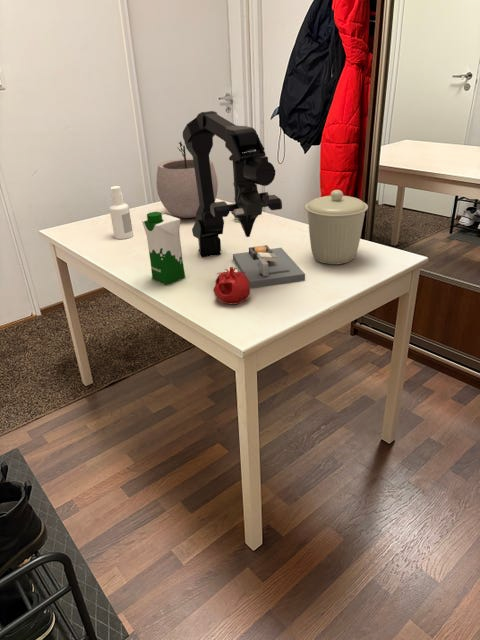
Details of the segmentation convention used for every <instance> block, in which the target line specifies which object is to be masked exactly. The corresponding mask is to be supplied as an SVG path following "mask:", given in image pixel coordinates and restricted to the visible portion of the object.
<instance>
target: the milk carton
mask: <svg viewBox="0 0 480 640" xmlns="http://www.w3.org/2000/svg"><path fill="white" fill-rule="evenodd" d="M141 223H142V226H143V229H144V233H145V235H146V240H147V247H148V253H149V261H150V268H151V269H150V271H151V279H152V280H153V281H156V282H158V283H159V284H162V285H165V286H169V285H171V284H174V283H177V282H178V281H180V280H181V281H182V280H184V279H186V273H185V272H186V271H185V267H184V262H183V253H182V252H183V251H182V246H181V245H182V243H181V235H180V233H181V232H180V231H181V230H180V229H181V228H180V226H181V218H180V217H179V218H178V217H177V216H176V217H175V216H172V215H170V214H169V215H168V214H165V213H163V214H162V212H160V211H152V212H148V213H147V214H146V218H145V219H143V220H141Z"/></svg>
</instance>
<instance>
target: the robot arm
mask: <svg viewBox="0 0 480 640" xmlns="http://www.w3.org/2000/svg"><path fill="white" fill-rule="evenodd" d="M215 136H216V137H217V138H219V139H221V140H222V141H224V144H225V148H226V149H227V150H228V152H230V154H231V155H230V156H229V158H228V160H229V161H231V162H232V171H233V172H232V173H233V174H232V175H233V187H234V189H233V190H234V197H233V199H234V202H235V204H234V203H231V204H230V203H229V204H227V202H226V201H224V200H222V201H216V200H215V199H214V191H213V183H212V175H211V167H210V160H211V159H210V154H211V151H212V149H213V146H214V137H215ZM182 139H183V141H184V144H185V149H186V151H187V152H188V153H189V154H190V155H191V156H192V158H193V162H194V169H195V176H196V183H197V190H198V197H199V208H198V210H197V212H196V217H195V223H194V225H193V226H192V229H191V230H192V231H191V232H192V235H193V237H195V238H196V239H197V241H198V242H197V243H198V250H197V251H198V254H199V255H200V257H201V258H207V257H213V256H214V257H216V256H221V255H222V254H221V251H222V244H221V243H222V241H221V238H220V237H219V235H223V233H224V227H225V225H224V224H225V220H224V218H226V217H228V216H229V214H230V212H231V215H233V217H234V216H235V217H236V218H238V220H239V221H240V222H239V223H240V226H241V228H242V230H243V233H244V235H245V237H246V238H250V236H251V234H252V229H253V227H254V223H255V222H256V219H257V218H258V217H259V216H260V215H262V214H263V208H267V207H268V209H269V210H271V211H277V210H278V211H279V210H282V209H283V202H282V199H281V198H280V197H279V196H277V195H276V194H269V192H268V191H266V192H260V193H259V191H258V185H259V186H262V187H263V186H264V187H267V186H269V185H270V184H272V183H273V181H274V179H275V177H276V169H275V166H274V165H273V164H272V163H271V162H269V157H268V156H266V152H265V147H264V145H263V144H262V141H261V139H260V137H259V135H258V133H257V130H256V129H255V128H253V127H252V126H251V127H250V126H247V125H238V124H237V125H236V124H234V123H233V122H231V121H229V120H228V119H226V118H224V117H222V116H221V115H219V114H218V112H217V111H213V110H209V111H201V112H200V113H198V114H197V115H196V117H195V118H193V119H192V120H190V121H189V122H188V123H187V124H186V125H185V127H184V129H183V131H182ZM209 159H210V160H209Z"/></svg>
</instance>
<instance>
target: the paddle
mask: <svg viewBox="0 0 480 640" xmlns="http://www.w3.org/2000/svg"><path fill="white" fill-rule="evenodd" d="M259 271H260V272H261V274H262V275H263V276H268V263H267V261H266V260H265V259H259Z"/></svg>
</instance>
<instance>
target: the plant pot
mask: <svg viewBox="0 0 480 640" xmlns="http://www.w3.org/2000/svg"><path fill="white" fill-rule="evenodd" d="M178 144H179V147H177V149H178V150H179V152H181V154H182V157H181V158H175V159H168V160H164V161H162V162H160V163H158V165H157V170H156V171H157V172H156V191H157V195H158V198H159V200H160V202H161V204H162V206H163V207H164V208H165V209H166V210H167V211H168V212H169V213H170V214H171V215H173V216H176V217H177V218H178V217H179V218H185V219H191V218H196V212H197V210H198V208H199V197H198V190H197V183H196V176H195V169H194V162H193V157H187V155H186V145H185V143H184V145H183V144H182V141H179V142H178ZM209 160H210V167H211V175H212V183H213V191H214V199H215V201H216V199H217V195H218V190H219V188H218V187H219V185H218V184H219V183H218V176H217V173H216V169H215V165H214V163H213V161H212V159H210V158H209Z"/></svg>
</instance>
